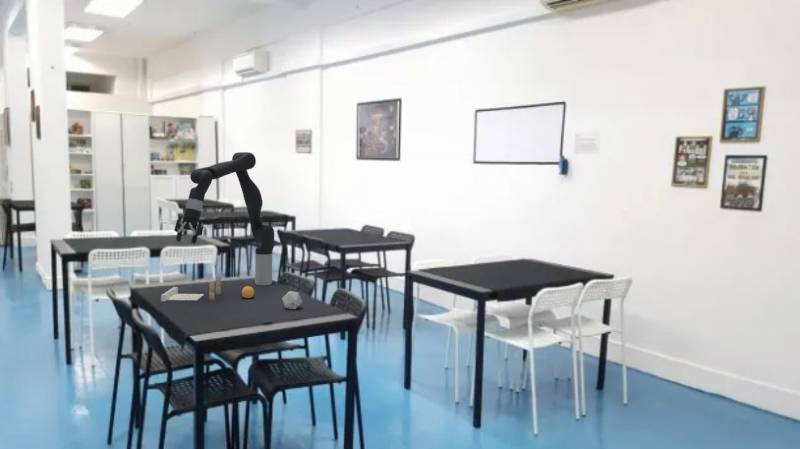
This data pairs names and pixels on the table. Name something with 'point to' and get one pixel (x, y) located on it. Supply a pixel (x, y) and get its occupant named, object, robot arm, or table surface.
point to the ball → (247, 292)
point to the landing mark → (186, 297)
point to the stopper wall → (169, 294)
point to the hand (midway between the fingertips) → (185, 242)
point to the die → (292, 300)
